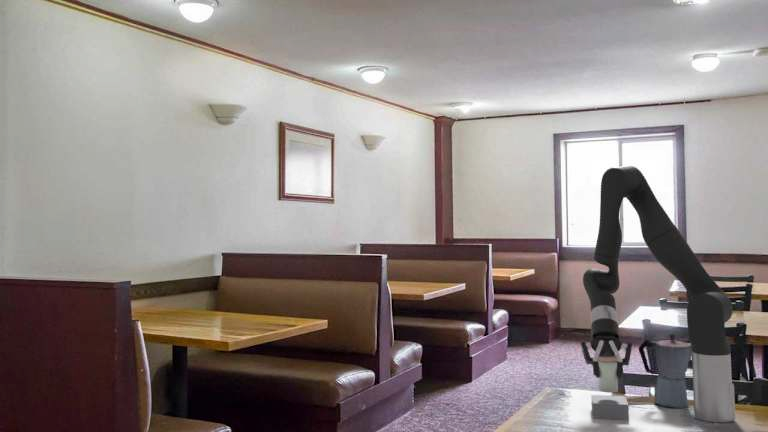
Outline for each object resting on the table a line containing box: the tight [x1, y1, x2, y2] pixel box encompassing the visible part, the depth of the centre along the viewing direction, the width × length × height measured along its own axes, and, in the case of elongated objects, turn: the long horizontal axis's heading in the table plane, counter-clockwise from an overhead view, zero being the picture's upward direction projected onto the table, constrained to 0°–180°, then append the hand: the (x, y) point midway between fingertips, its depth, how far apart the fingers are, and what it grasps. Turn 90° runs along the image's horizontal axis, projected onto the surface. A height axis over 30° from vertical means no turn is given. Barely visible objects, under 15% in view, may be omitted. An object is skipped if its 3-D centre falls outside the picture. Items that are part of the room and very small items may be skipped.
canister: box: [597, 355, 619, 393], centre depth 181 cm, size 5×5×9 cm
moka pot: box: [638, 333, 692, 409], centre depth 189 cm, size 10×15×20 cm, turn 78°
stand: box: [590, 394, 630, 421], centre depth 180 cm, size 9×9×4 cm
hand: (608, 376), depth 179 cm, fingers closed on canister, 5 cm apart
